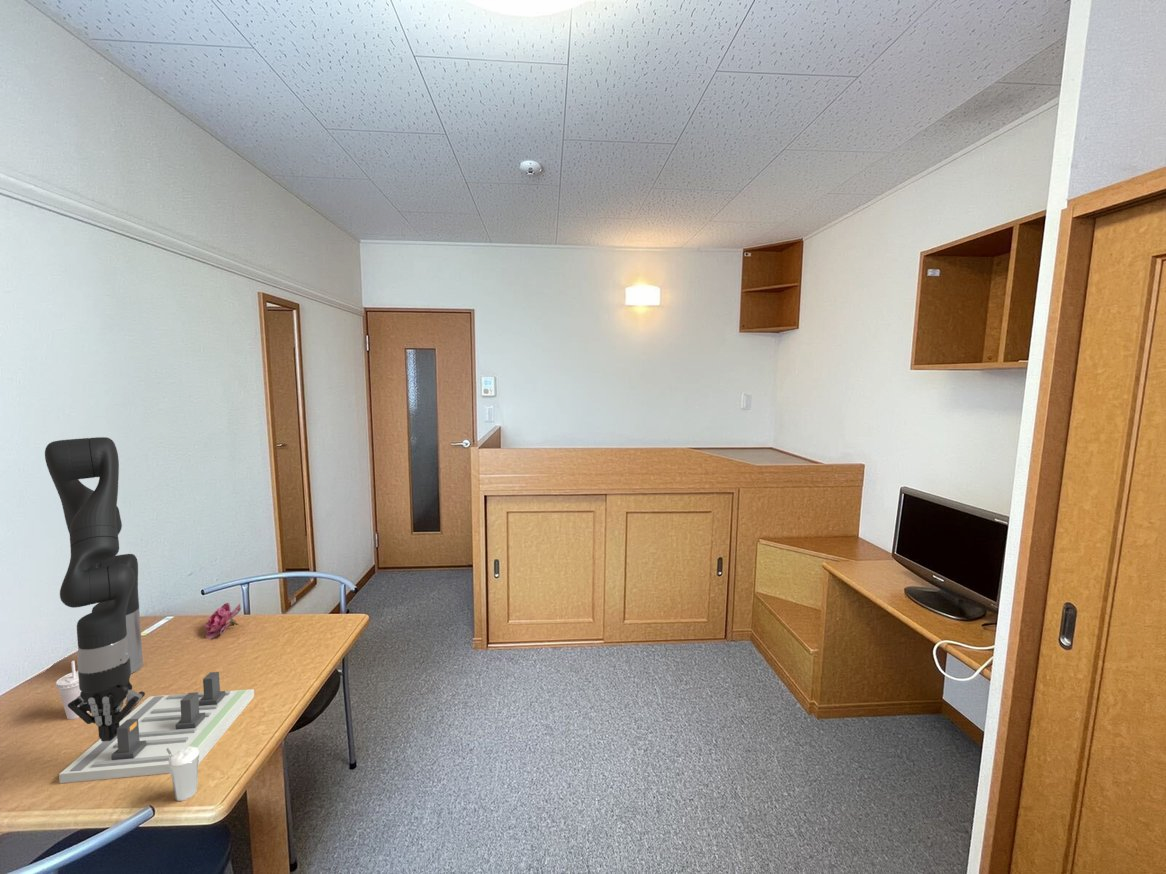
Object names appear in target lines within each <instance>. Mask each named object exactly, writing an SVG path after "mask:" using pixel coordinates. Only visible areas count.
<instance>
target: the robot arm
mask: <svg viewBox="0 0 1166 874" xmlns="http://www.w3.org/2000/svg"><path fill="white" fill-rule="evenodd" d="M44 459H45V464H46V468H47V470H48V472H49V475H50V477H51V479H52V482H53V484H54V487H55V489H56V491H57V494H58V496H59V498H60V503H61V506H62V511H63V514H64V519H65V520H64V521H65V523H66V527H67V531H68V534H69V544H70V546H69V547H70V559H69V564H68V567H67V570H66V573H65V576H64V577H63V580H62V583H61V587H60V589H59V599H60V601H61V602H62V604H63V605H65V606H67V607H69V608H81V607H85V606H91V605H94V606H93V607H92V609H91V612H90V613H88V614H86V615H83V616H82V617H81V618H79V620H78V621H77V623H76V638H77V639H76V640H77V647H78V648H77V656H76V661H77V662H76V663H77V671H78V677H79V689H80V690H81V693H80V696H79V697H77V698H76V699H74V700H73V701H72V702H70V703H69V704H68V707H69V708H70V709H71V710H72V711H73V712H74V713H76V714H77V715H78V716H79V719H81V720H82V721H83V722H84V723H85V724H87V725H90V724H92V723H93V724H95V726H97V728H98V729H97V730H98V731H97V732H98V739H99V740H100V739H101V741H102V742H103V741H111V740H112V739H113V738H115V737H116V736H117V728H118V727H119V726H120V725H119V722H120V721H122V720H123V719H124V718H125V717H126V716H127V715H129V714H130V713H131V712H132V711H133V710H134V709H135V708H136V706H137V705H138V704H139V703H140V702H141V700H143V698H144V697H145V695H146V693H145V691H140V692H137V691H135V690H133V685H132V683H131V682H130V678H131V675H132V674H134V673H136V672H137V671H138V670H140V669H141V668H142V667H143V665H144V661H143V646H142V644H143V642H142V633H141V632H142V630H141V629H142V628H141V627H142V626H141V615H140V601H139V600H140V597H139V562H138V559H137V556H136V555H135V554H134V553H125V554H119V551H120V542H119V534H120V533H121V531H122V527H123V525H122V524H123V523H122V519H121V514H120V509H119V507H118V505H117V504H118V494H119V475H120V474H119V473H120V464H119V462H120V461H119V453H118V450H117V446H116V444H115V442H114V440H113V439H112V438H111V437H104V436H103V437H102V436H99V437H98V436H97V437H96V436H95V437H84V438H73V439H71V438H70V439H60V440H54V441H51V442H49V443H48V444H47V445H46V447H45V450H44ZM94 478H99V480H98V483H97V485H96V487H95V489H94V490H93V489H91V488H89V487H87V486H86V485H84V484H83V483H82V482H81V480H85V479H94ZM125 699H126V700H125ZM124 700H125V703H124ZM124 704H125V705H124ZM123 706H124V707H123ZM87 711H89V712H88V713H87Z"/></svg>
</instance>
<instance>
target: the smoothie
mask: <svg viewBox="0 0 1166 874" xmlns="http://www.w3.org/2000/svg"><path fill="white" fill-rule="evenodd" d="M75 661H76V660H72V661H71V663H70V664H71V672H70V673H67V674H65V675H63V676H62V677H60V678H58V679H57V680H56V682H55V688H56V689H57V690H58V691H59V692H58V693H59V695H60V698H61V702H62V706H63V708H64V712H65V714H66V715H65V716H66V718H67V720H76V719H80V717H79V716H78V715H77V714H76V713H74V712H73V711H72V710H71V709H70V708H69V707H68V704H69V703H70V702H72V701H73V700H74V699H76V698H77V697H79V696H80V693H81V690H80V689H79V677H78V670H77V671H76V663H75ZM87 713H88V714H89V713H90V712H89V711H87Z"/></svg>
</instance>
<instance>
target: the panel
mask: <svg viewBox="0 0 1166 874" xmlns="http://www.w3.org/2000/svg"><path fill="white" fill-rule="evenodd" d="M220 682H221V681H220V671H211V672H209V673H208V674H207V675H206V676H205V677H204V678H203V679H202V685H203V686H202V688H203V692H197V691H196V692H188V693H181V694H169V695H168V694H167V695H166V694H164V695H154V696H152V695H150V696H148V697H147V698H146V699H145V700H144V701H142V702H141V703H140V704H139V705H138V706H137V707H135V708H134V709H133V710H132V711H131V712H130V713H129V714H128V715H127V716H125V717H124V718H123V719H122V720H121V721H120V722H119V725H122V724H123V723H124V722H125V721H126V720H127V719H138V725H139V740H140V741H146V744H147V746H146V747H145V748H144V749H143V750H142V751H141V752H140V753H139V754H138V755H137V756H136V757H135V758H133V759H122V760H112V759H111V755H112V754H113V753H114V752H115V751H116V750H117V749H118V742H117V736H116V737H115V738H113V739H112V740H111V741H103V742H102V741H101V739H100V738H99V739H98V740H97V741H96V742H94V744H93V745H91V746H90V747H89V748H88V749H87V750H85V751H84V752H83V753H82V754H81V755H80V756H78V757H77V758H76V759H74V761H73V762H72V763H70V764H69V765H68V766H67V767H66V768H65V769H63V770H62V771H61V772H59V773H58V778H59V784H66V783H67V784H68V783H78V782H89V781H98V780H99V781H100V780H109V779H120V778H131V777H142V776H150V775H151V776H153V775H162V774H163V775H164V774H171V771H170V767H169V760H170V759H171V757H170V755H169V754H168V752H167V750H166V749H167V748H169V750H170V752H171V754H172V755H174V754H176V753H177V752H178V751H179V750H181V749H184V748H186V747H188V746H192V747H197V748H198V749H199V762H198V765H200V763H201V762H202V761H203V759H205V757H206V756H207V754H208V753H210V751H211V750H212V748H213V747H214V746H215V745H216V744H217V742H218V741H219V740H220V739H221V737H222V736H223V735H224V734H225V733H226V731H227V730H228V729H229V728H230V727H231V725H232V724H233V723H234V722H235V721H236V719H237V718H238V717H239V716H240V715H241V713H243V711H244V710H245V708H246V707H248V705H249V704H250V702H251V701H252V700H253V699H254V698H255V689H254V688H253V689H252V688H251V689H239V690H238V689H237V690H236V689H235V690H221V689H220V688H221V685H220Z"/></svg>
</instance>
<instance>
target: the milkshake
mask: <svg viewBox="0 0 1166 874" xmlns="http://www.w3.org/2000/svg"><path fill="white" fill-rule="evenodd" d="M166 750H167V752H168V754H169V755H170V757H171V759H170V760H169V767H170V771H171V773H170V775H171V780H172V786H173V791H174V792H173V793H174V798H175V800H176V801H177V802H183V801H186V800H189V799H190V798H192V797H193V796H194V795H195V794H196V793H197V791H198V778H199V764H198V762H199V749H198V748H197V747H192V746H188V747H186V748H184V749H181V750H179V751H178V752H177V753H176V754H174V755H172V754H171V752H170V750H169V748H167V749H166Z"/></svg>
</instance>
